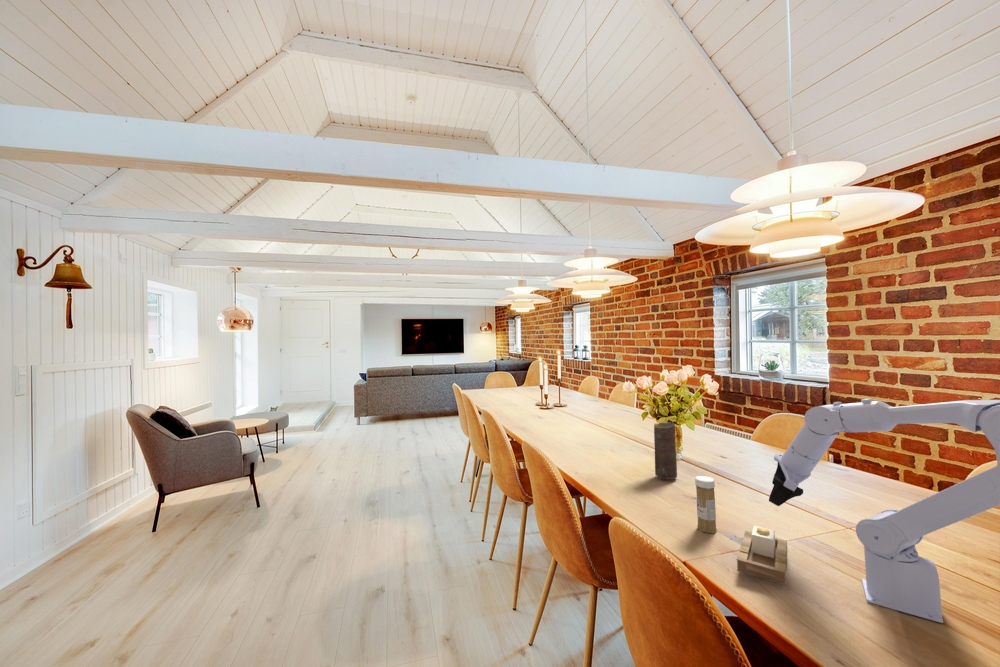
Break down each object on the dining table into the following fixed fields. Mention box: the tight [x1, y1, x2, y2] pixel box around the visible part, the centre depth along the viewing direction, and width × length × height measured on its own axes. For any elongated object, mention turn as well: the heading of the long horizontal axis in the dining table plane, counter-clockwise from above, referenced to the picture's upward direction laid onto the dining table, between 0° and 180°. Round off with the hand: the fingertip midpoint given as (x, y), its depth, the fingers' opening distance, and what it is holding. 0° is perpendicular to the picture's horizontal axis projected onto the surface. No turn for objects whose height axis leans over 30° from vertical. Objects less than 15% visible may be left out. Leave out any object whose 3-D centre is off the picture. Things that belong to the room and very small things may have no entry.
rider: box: [751, 525, 776, 558], centre depth 85 cm, size 5×4×4 cm
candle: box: [653, 421, 678, 480], centre depth 137 cm, size 8×7×20 cm
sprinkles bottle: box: [694, 475, 718, 534], centre depth 99 cm, size 5×5×14 cm
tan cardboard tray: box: [736, 530, 788, 585], centre depth 83 cm, size 15×8×4 cm, turn 141°
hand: (775, 493), depth 90 cm, fingers open, 7 cm apart
